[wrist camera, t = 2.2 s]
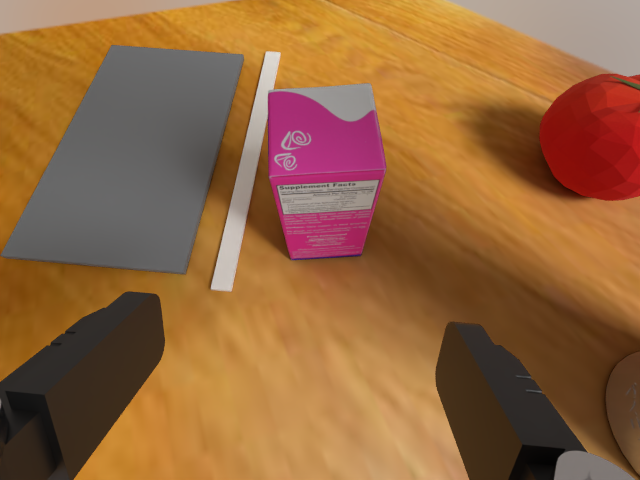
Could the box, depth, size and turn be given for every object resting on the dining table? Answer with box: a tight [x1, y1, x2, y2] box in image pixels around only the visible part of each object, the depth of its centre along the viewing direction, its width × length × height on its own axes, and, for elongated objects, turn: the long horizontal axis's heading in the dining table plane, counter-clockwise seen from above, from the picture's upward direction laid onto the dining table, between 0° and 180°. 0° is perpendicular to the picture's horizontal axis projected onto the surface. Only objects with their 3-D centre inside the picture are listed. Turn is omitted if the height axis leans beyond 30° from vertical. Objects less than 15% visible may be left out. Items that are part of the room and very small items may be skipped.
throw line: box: [211, 51, 280, 292], centre depth 30 cm, size 2×26×1 cm, turn 174°
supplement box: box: [268, 83, 386, 260], centre depth 21 cm, size 6×6×12 cm
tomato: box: [539, 74, 640, 201], centre depth 26 cm, size 9×10×8 cm
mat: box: [0, 45, 244, 274], centre depth 30 cm, size 14×24×1 cm, turn 175°
